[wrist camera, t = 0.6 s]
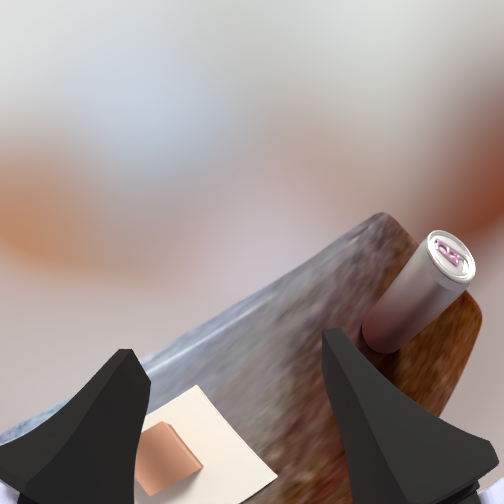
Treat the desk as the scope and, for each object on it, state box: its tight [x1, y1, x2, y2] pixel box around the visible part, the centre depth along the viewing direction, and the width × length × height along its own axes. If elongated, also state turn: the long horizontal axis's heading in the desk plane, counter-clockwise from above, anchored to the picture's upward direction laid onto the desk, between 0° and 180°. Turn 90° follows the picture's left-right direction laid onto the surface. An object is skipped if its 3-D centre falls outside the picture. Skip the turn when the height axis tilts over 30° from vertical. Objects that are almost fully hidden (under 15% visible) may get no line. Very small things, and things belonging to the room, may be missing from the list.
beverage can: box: [362, 230, 475, 354], centre depth 24 cm, size 6×6×15 cm
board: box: [134, 385, 278, 504], centre depth 16 cm, size 24×12×1 cm, turn 129°
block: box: [134, 421, 203, 496], centre depth 17 cm, size 5×5×4 cm
